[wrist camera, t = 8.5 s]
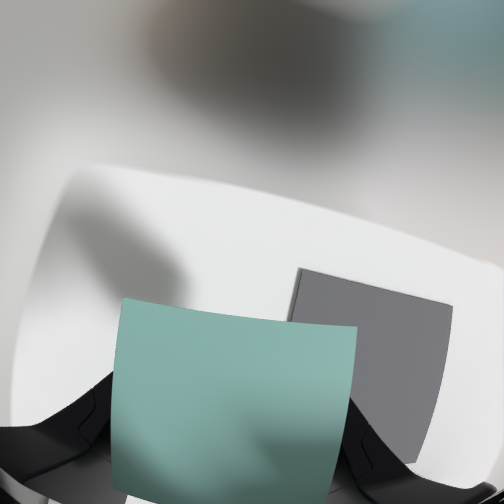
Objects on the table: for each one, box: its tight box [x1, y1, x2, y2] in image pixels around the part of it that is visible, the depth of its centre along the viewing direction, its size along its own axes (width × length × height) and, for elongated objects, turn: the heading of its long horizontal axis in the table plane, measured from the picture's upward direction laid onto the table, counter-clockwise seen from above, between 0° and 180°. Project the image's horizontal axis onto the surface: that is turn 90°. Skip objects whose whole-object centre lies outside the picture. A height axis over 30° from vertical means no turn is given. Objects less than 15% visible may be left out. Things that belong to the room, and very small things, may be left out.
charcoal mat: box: [291, 270, 453, 464], centre depth 21 cm, size 18×18×1 cm
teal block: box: [111, 297, 357, 504], centre depth 10 cm, size 5×5×11 cm
